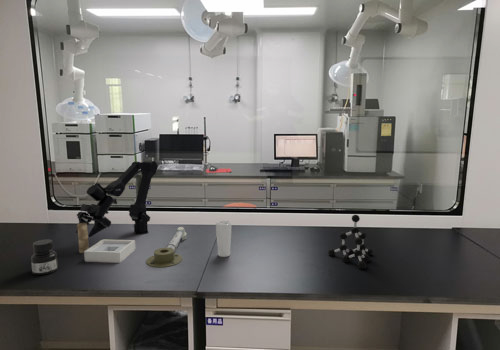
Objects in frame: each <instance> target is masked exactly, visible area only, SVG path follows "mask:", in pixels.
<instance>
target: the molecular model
mask: <svg viewBox="0 0 500 350" xmlns="http://www.w3.org/2000/svg"><path fill="white" fill-rule="evenodd" d="M351 220H352V222H353V227H351V230H350V231H349V232H343V231H342V232H341V233H340V234H339V238H340V239H341V244H340V245H339V246H338V247H339V248H337V249H334V248H330V249H328V252H327V253H328V255H329V256H330V257H334V256H336V254H337V252H340V251H341V252H342V253H343V256H342V257H341V258H342V262H344V263H349V262H350V261H351V258H353V257H354V258H355V257H356V258H358V262H357V267H358V269H361V270H364V269H365V268H366V267H367V264H366V263H367V262H369V261H370V256H371V255H373V253H374V251H373V249H372V248H371V247H366V245H365V244H364V240H365V239H366V238H367V233H366V232H365V231H360V229H359V227H357V224H358V222H359V221H360V215H358V214H353V215H352V216H351ZM352 234H353V235H355V239H354V243H355V244H356V248H354V249H353V248H351V247H349V248H347V245H346V244H345V241H346V240H347V239H348V236H350V235H352Z"/></svg>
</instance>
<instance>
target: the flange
mask: <svg viewBox="0 0 500 350" xmlns="http://www.w3.org/2000/svg"><path fill="white" fill-rule="evenodd" d="M182 261H183V256H182V255H180V254H178V253H175V252H174V249H172V248H166V247H161V248H160V247H159V248H157V249H155V250H154V251H153V255H152V256H150V257H148V258H147V259H146V261H145V262H146V264H147V266H149V267H152V268H168V267H169V268H170V267H173V266H177V265H178V264H180V263H181V262H182Z"/></svg>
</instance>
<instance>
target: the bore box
mask: <svg viewBox="0 0 500 350" xmlns="http://www.w3.org/2000/svg"><path fill="white" fill-rule="evenodd" d="M134 251H136V240H135V239H101V240H99V241H97V243H95V244H93V245H92V246H89V249H87V250H86V251H84V253H83V256H84V262H86V263H89V262H90V263H111V264H113V263H114V264H115V263H116V264H118V263H119V264H120V263H122V262H123V261H124V260H126V258H127V257H128V258H129V256H130V255H131V254H132V253H134Z"/></svg>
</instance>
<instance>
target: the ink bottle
mask: <svg viewBox="0 0 500 350" xmlns="http://www.w3.org/2000/svg"><path fill="white" fill-rule="evenodd" d="M32 251H33V254H32V255H31V257H30V262H31V270H32V271H31V272H32V274H33V275H35V276H43V275H45V276H46V275H48V274H53V273H54V272H56V271H57V270H58V268H59V265H58V264H59V263H58V255H57V252H56V251H55V250H54V242H53V240H52V239H48V238H47V239H40V240H37V241H34V242H33V243H32Z"/></svg>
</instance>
